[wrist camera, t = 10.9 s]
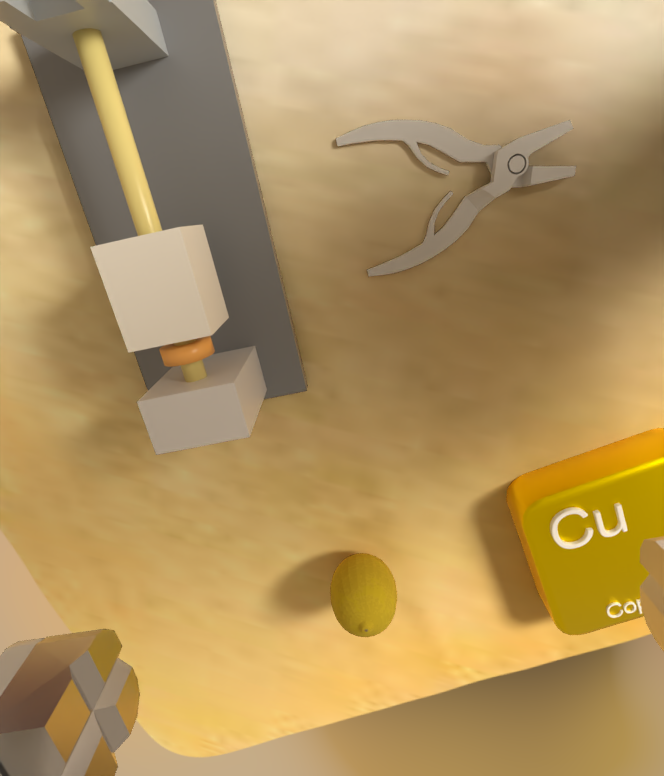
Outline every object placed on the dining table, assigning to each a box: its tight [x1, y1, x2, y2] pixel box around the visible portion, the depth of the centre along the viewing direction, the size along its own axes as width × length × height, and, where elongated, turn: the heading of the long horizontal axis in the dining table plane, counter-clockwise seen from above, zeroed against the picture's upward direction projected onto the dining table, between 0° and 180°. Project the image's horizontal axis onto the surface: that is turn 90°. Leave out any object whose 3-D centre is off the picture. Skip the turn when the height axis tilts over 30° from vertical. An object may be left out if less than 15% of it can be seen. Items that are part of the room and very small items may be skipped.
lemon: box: [330, 553, 397, 637], centre depth 41 cm, size 6×6×8 cm
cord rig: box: [0, 0, 308, 455], centre depth 29 cm, size 12×27×12 cm, turn 12°
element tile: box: [506, 428, 664, 635], centre depth 42 cm, size 15×15×5 cm
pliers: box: [336, 120, 576, 276], centre depth 34 cm, size 10×2×15 cm
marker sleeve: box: [90, 225, 229, 353], centre depth 30 cm, size 5×6×5 cm
